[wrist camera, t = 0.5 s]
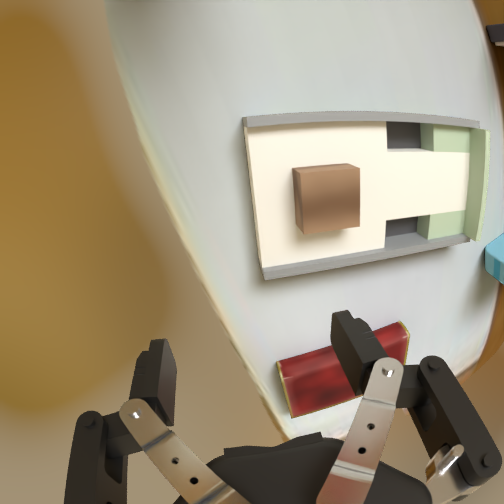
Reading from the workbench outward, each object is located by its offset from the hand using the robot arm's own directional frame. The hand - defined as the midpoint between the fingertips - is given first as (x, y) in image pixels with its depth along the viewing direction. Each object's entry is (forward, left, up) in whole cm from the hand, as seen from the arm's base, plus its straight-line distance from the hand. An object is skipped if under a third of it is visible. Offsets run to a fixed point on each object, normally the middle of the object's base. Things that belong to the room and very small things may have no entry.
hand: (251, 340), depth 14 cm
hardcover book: (+29, +15, -22) cm, 39 cm away
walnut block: (-1, +10, -18) cm, 21 cm away
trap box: (-1, +18, -21) cm, 28 cm away
